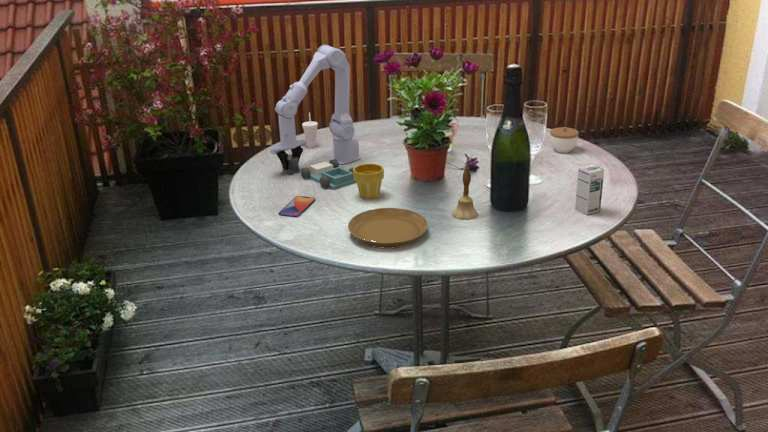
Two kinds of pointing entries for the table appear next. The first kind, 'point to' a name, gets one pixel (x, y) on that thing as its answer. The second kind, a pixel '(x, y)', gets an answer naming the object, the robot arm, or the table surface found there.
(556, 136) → the lidded jar
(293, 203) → the smartphone
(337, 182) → the chassis
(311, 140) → the smoothie
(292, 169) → the dark grey upright block
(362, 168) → the plant pot
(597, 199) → the syrup box
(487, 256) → the table surface
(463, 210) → the hand bell
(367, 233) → the plant saucer
